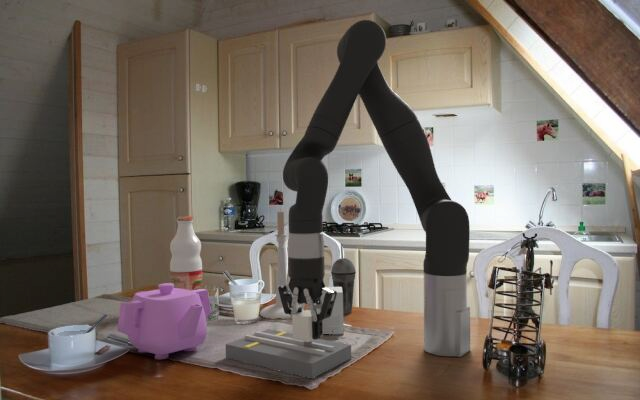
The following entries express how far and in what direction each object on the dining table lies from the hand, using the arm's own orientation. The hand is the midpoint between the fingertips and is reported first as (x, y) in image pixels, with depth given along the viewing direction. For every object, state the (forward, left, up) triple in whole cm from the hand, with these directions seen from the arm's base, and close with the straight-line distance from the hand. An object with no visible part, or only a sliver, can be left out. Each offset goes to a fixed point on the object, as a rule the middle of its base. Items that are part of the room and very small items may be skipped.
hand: (307, 336), depth 109 cm
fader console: (+5, 0, -6) cm, 8 cm away
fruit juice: (+59, -19, -6) cm, 63 cm away
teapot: (+32, +10, -6) cm, 34 cm away
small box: (+9, -23, -6) cm, 25 cm away
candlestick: (+31, -30, -6) cm, 44 cm away
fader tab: (0, 0, -2) cm, 2 cm away
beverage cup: (+17, -41, -6) cm, 45 cm away
